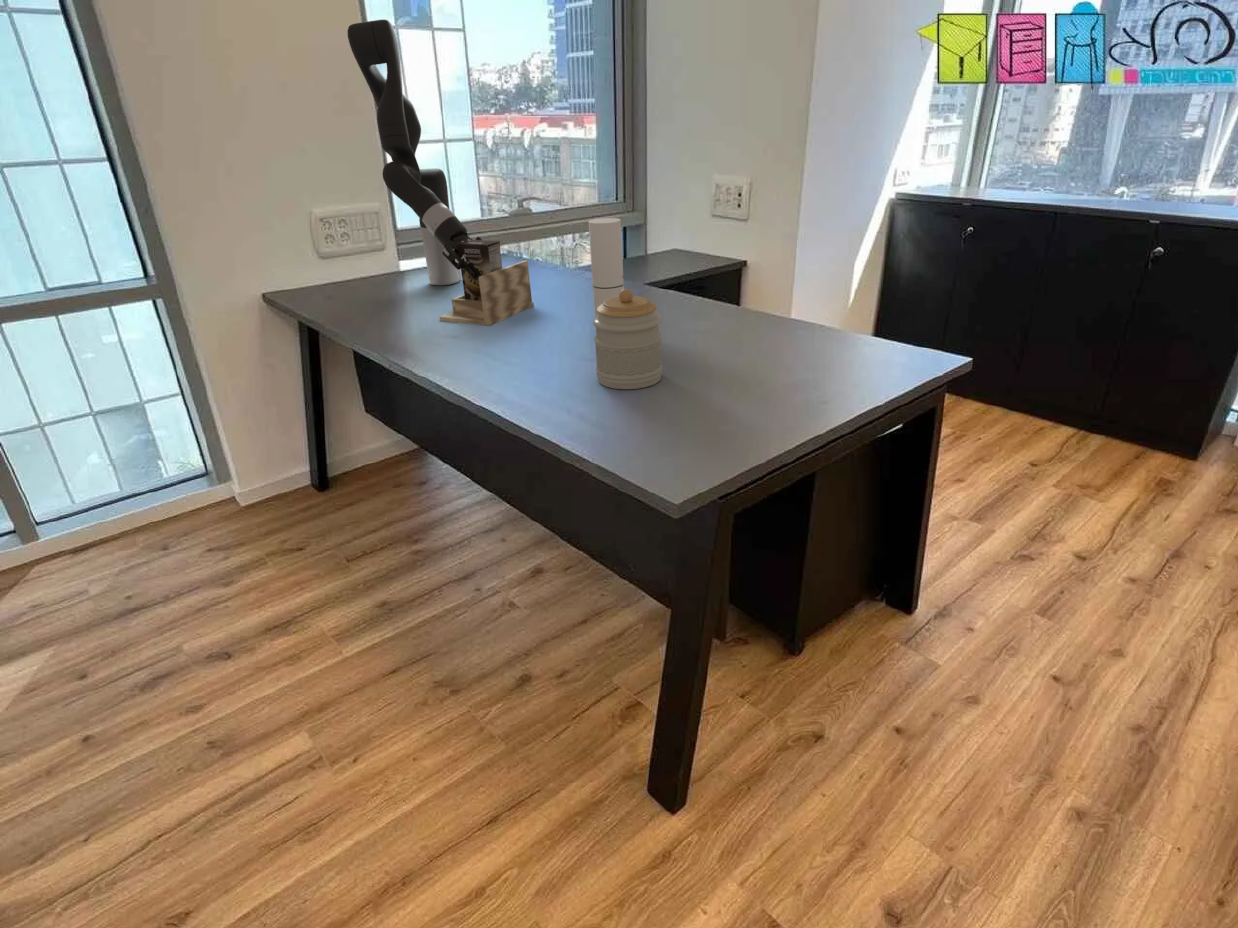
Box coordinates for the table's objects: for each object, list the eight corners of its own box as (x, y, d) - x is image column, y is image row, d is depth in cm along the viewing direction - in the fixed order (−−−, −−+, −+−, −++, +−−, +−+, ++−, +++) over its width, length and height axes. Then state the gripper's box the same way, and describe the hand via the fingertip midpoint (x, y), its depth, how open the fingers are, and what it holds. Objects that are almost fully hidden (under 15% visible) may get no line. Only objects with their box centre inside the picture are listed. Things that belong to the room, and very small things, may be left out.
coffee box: (464, 306, 189) (455, 243, 182) (478, 300, 195) (469, 239, 187) (494, 308, 186) (486, 244, 179) (507, 302, 191) (500, 239, 184)
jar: (672, 384, 137) (670, 292, 129) (606, 395, 134) (601, 301, 126) (650, 364, 149) (647, 278, 141) (589, 373, 146) (583, 285, 138)
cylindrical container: (627, 325, 174) (622, 217, 163) (624, 334, 168) (618, 222, 157) (597, 326, 175) (590, 218, 164) (593, 335, 169) (586, 224, 157)
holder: (486, 301, 203) (480, 258, 197) (533, 305, 196) (529, 260, 190) (439, 320, 187) (432, 273, 182) (489, 325, 180) (483, 277, 175)
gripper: (432, 220, 178) (477, 271, 178) (468, 211, 189) (510, 259, 189) (419, 241, 183) (463, 290, 183) (455, 231, 194) (496, 278, 194)
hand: (487, 274), depth 186 cm, fingers closed on coffee box, 6 cm apart
